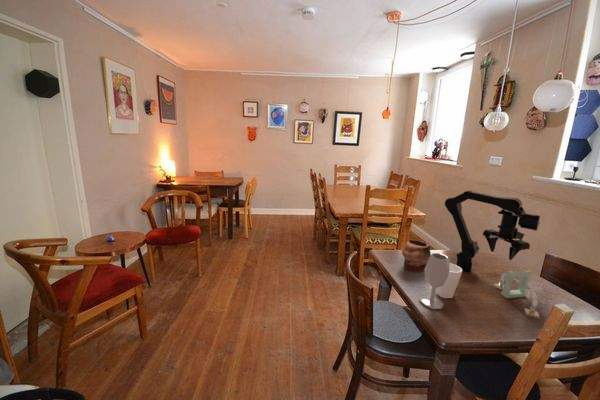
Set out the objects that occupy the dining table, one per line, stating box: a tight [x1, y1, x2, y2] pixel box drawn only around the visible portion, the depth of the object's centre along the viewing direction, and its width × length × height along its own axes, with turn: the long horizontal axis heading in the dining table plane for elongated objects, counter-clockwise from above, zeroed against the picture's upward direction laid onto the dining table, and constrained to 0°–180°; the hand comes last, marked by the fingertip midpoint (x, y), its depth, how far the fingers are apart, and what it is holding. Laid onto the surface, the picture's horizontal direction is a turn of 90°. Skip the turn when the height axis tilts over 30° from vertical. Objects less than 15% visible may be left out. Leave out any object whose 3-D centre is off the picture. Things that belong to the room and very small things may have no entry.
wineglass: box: [418, 252, 450, 310], centre depth 105 cm, size 9×9×21 cm
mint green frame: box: [500, 269, 531, 299], centre depth 115 cm, size 10×3×12 cm, turn 102°
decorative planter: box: [401, 239, 432, 273], centre depth 137 cm, size 20×12×14 cm, turn 126°
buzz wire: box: [492, 272, 540, 320], centre depth 112 cm, size 5×25×9 cm, turn 173°
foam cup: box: [435, 262, 463, 299], centre depth 113 cm, size 10×9×13 cm
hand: (501, 255), depth 126 cm, fingers open, 9 cm apart
